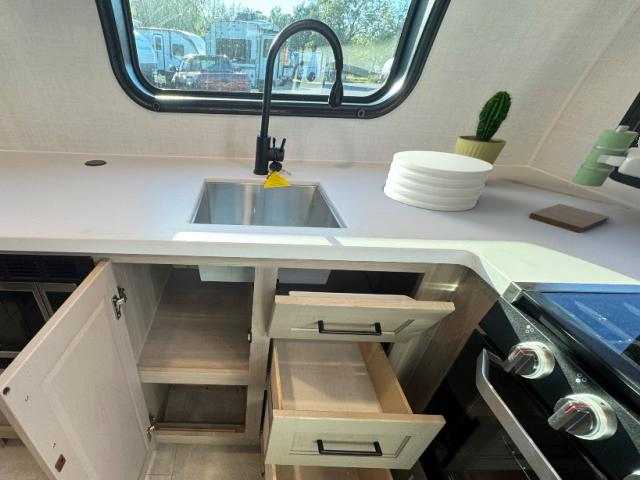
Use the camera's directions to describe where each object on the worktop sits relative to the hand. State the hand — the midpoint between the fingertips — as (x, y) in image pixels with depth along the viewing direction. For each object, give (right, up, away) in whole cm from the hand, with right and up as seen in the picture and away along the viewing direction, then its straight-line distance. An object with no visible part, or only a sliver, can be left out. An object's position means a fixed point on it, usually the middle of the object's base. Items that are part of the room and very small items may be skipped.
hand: (599, 155), depth 84 cm
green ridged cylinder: (+1, -6, +4) cm, 7 cm away
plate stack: (-33, -4, +22) cm, 40 cm away
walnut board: (-1, -15, +7) cm, 17 cm away
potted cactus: (-9, +8, +39) cm, 41 cm away
